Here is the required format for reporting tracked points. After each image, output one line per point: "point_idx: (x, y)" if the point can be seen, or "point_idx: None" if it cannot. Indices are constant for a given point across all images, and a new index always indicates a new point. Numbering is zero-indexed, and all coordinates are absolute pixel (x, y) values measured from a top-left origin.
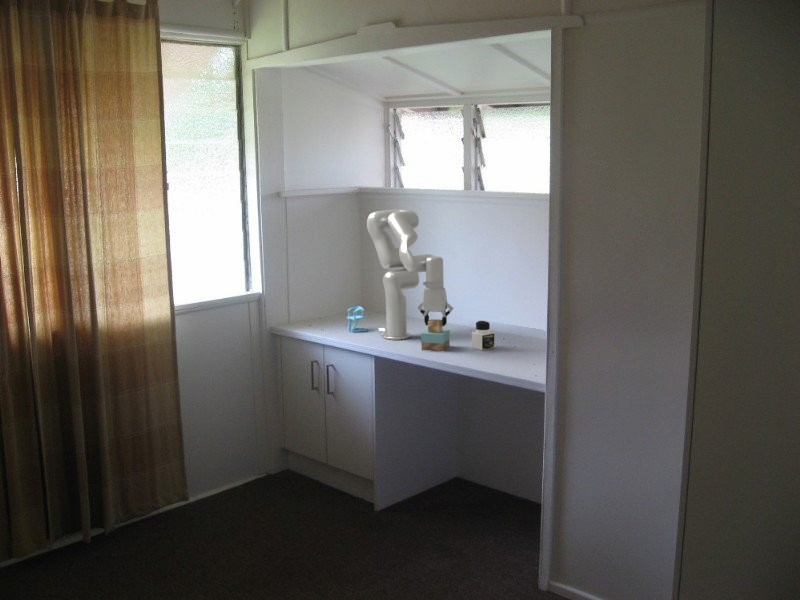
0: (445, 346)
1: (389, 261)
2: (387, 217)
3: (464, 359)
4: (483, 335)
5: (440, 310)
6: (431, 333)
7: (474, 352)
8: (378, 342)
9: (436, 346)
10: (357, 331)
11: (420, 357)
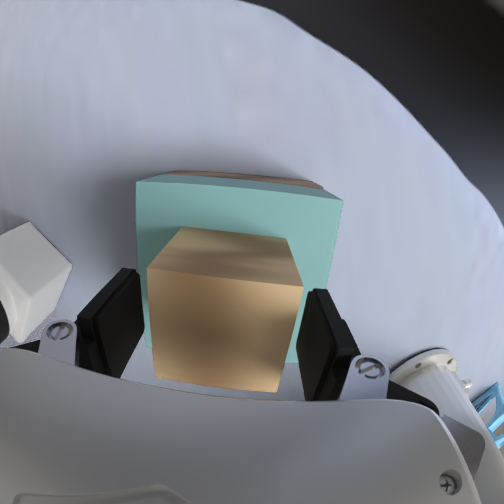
0: None
1: None
2: None
3: (67, 53)
4: None
5: (25, 360)
6: (250, 208)
7: (45, 185)
8: (478, 307)
9: (215, 174)
10: (485, 393)
11: (283, 27)
